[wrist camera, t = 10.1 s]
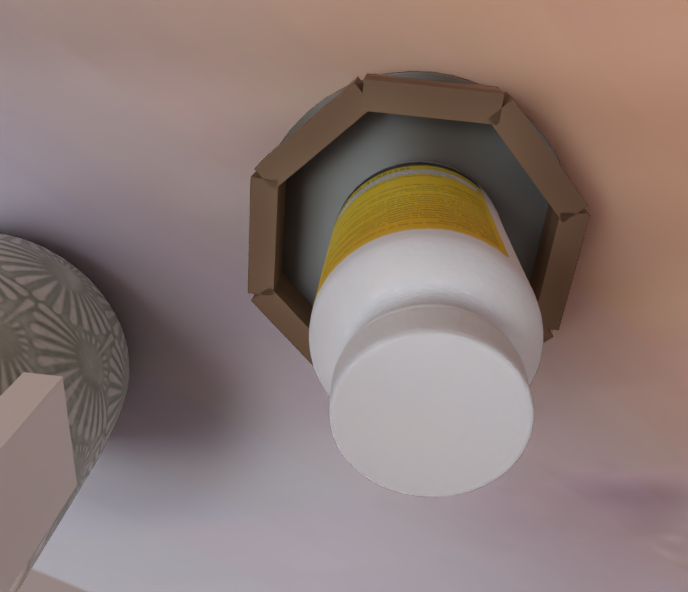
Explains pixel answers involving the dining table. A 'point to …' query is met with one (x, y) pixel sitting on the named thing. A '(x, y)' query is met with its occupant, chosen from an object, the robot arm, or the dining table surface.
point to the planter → (62, 349)
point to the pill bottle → (425, 333)
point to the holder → (398, 147)
